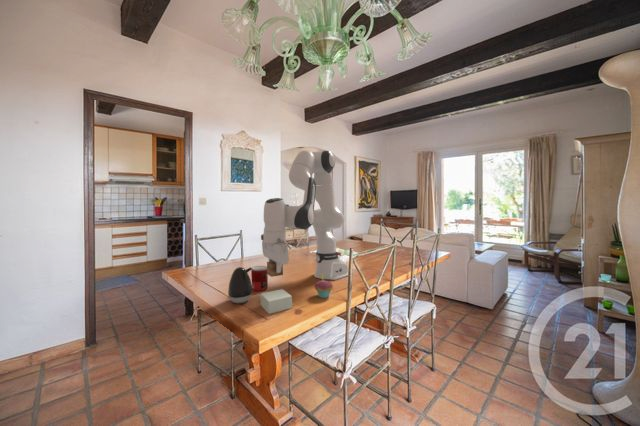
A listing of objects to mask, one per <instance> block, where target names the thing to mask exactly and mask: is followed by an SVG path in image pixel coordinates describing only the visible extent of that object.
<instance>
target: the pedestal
mask: <svg viewBox="0 0 640 426" xmlns="http://www.w3.org/2000/svg"><path fill="white" fill-rule="evenodd" d="M260 306H261V307H262V308H263V310H265V311H266V313H268V314H269V315H271V314H274V313H278V312H282V311H287V310H290V309H292V308H293V296H292V295H291V294H289V293H288V292H287V291H286V290H284V289H283V288H281V289H275V290H271V291H267V292H262V293H261V292H260Z"/></svg>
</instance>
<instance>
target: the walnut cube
mask: <svg viewBox="0 0 640 426" xmlns="http://www.w3.org/2000/svg"><path fill="white" fill-rule="evenodd" d="M276 266H277V265H276V262H275V261H271V262H269V261H266V267H267V274H268V276H270V277H271V278H273V277H279V276H283V275H284V264H283V265H282V267H281V272H280V273H277V272H276V270H275V268H276Z"/></svg>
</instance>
